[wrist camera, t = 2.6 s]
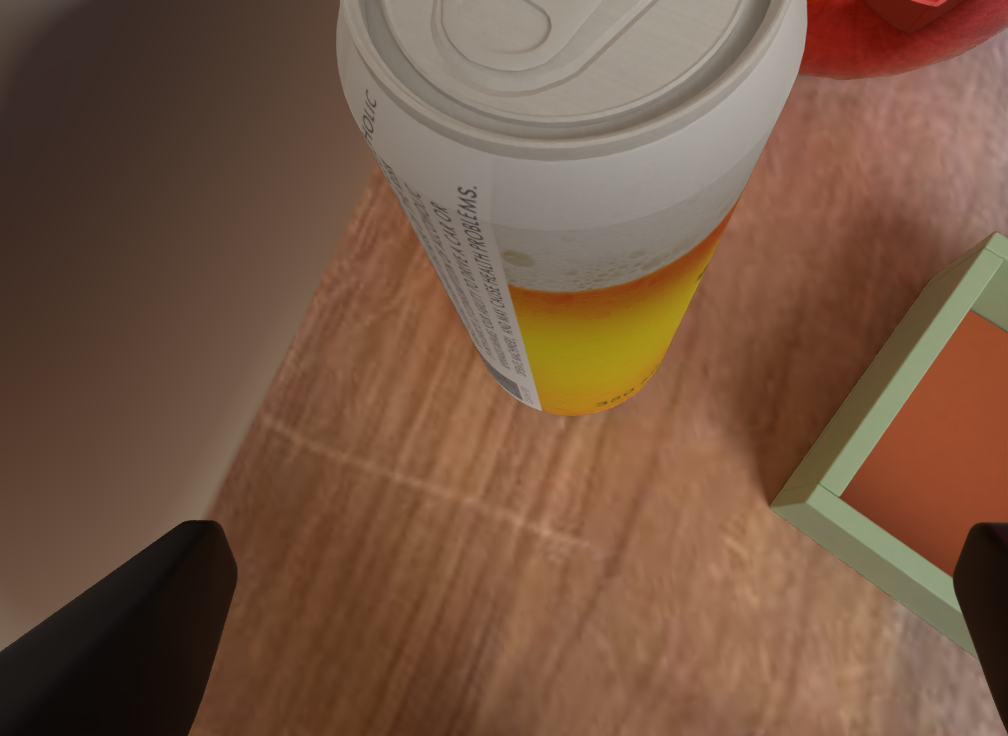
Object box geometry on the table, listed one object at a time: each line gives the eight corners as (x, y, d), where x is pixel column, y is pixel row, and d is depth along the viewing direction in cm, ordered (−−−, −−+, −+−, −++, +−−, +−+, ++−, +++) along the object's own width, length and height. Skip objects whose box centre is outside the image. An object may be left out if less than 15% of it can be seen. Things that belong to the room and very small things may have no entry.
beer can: (705, 307, 22) (951, -132, 8) (591, 459, 21) (621, 292, 7) (553, 207, 23) (515, -328, 9) (441, 346, 23) (200, 7, 8)
